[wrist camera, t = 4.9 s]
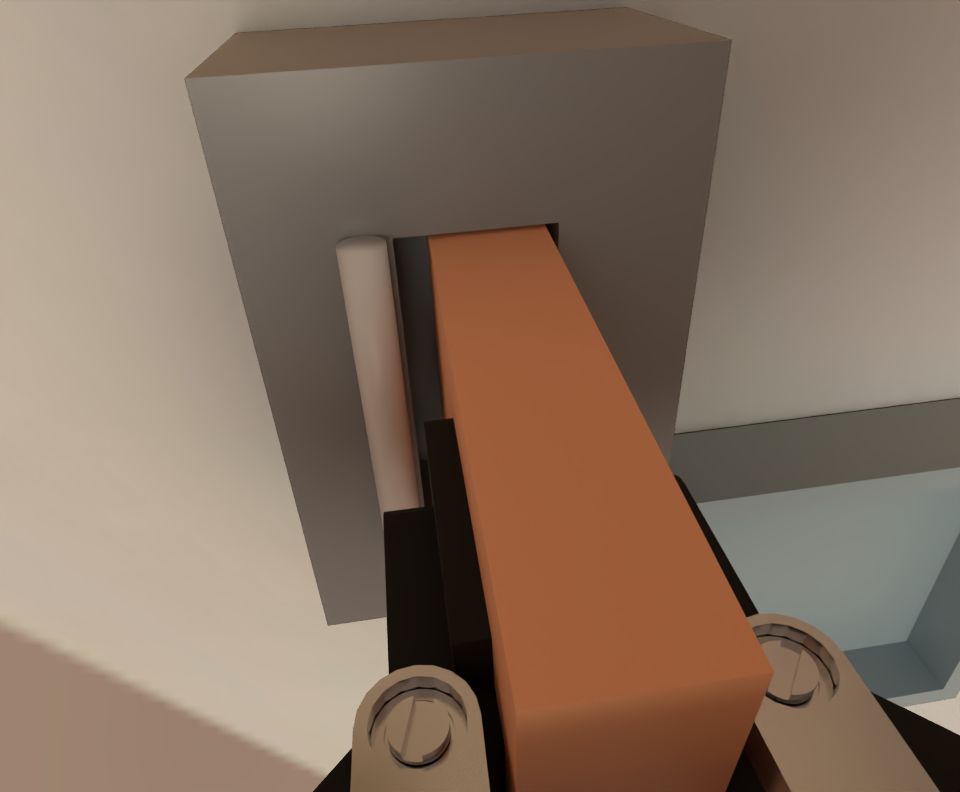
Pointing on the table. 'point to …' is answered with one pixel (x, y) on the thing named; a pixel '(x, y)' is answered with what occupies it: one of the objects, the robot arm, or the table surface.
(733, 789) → the robot arm
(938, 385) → the table surface
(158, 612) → the table surface
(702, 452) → the tray
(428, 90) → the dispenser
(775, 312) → the table surface
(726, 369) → the table surface
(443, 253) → the upright orange panel
